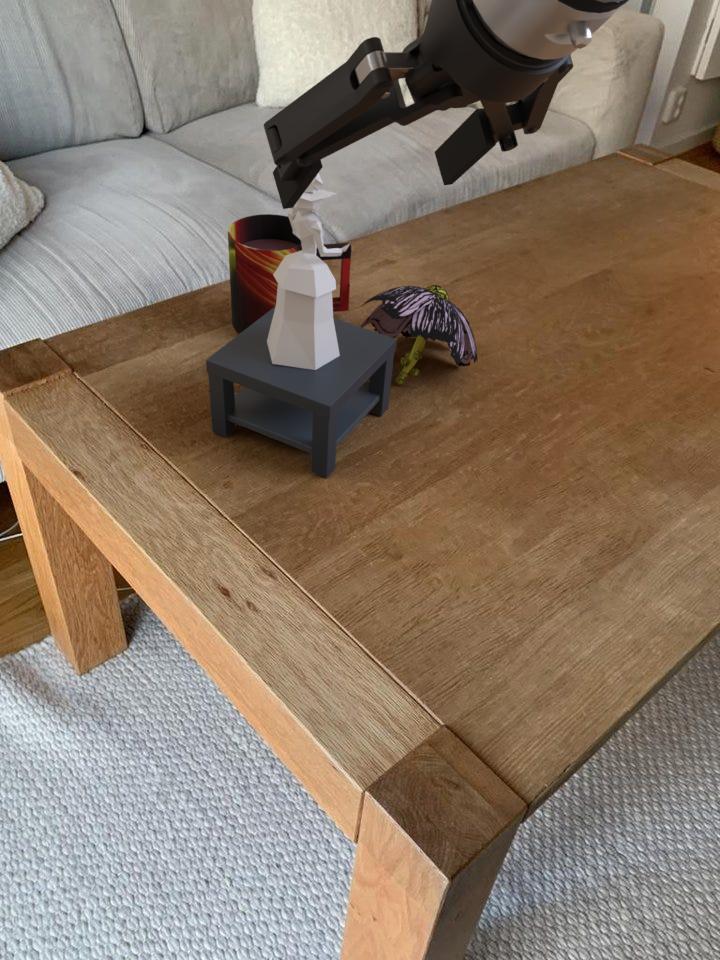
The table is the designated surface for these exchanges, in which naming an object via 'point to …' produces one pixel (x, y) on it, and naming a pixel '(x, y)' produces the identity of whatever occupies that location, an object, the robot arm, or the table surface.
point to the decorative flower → (423, 323)
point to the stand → (301, 390)
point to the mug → (268, 266)
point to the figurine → (305, 291)
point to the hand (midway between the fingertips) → (366, 179)
